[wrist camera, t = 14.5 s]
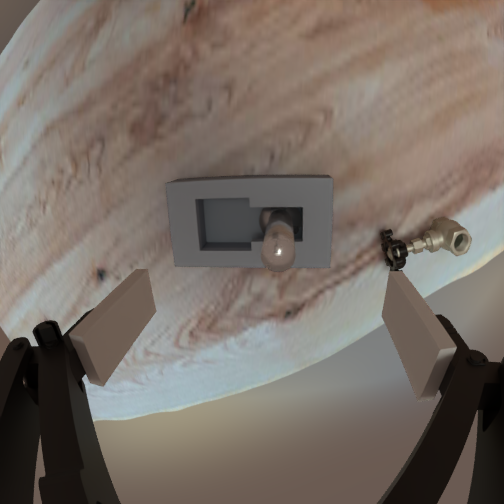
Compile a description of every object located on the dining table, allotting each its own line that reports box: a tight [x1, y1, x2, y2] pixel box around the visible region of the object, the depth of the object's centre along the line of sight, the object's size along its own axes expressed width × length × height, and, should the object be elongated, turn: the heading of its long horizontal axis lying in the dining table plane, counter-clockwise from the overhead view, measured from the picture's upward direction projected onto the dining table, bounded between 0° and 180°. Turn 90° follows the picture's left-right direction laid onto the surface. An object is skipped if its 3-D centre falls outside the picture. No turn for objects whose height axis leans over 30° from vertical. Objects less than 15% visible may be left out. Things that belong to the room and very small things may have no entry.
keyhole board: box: [166, 175, 333, 268], centre depth 37 cm, size 20×11×4 cm, turn 91°
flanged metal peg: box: [259, 207, 301, 272], centre depth 32 cm, size 5×5×14 cm
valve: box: [380, 217, 472, 272], centre depth 34 cm, size 7×7×12 cm
